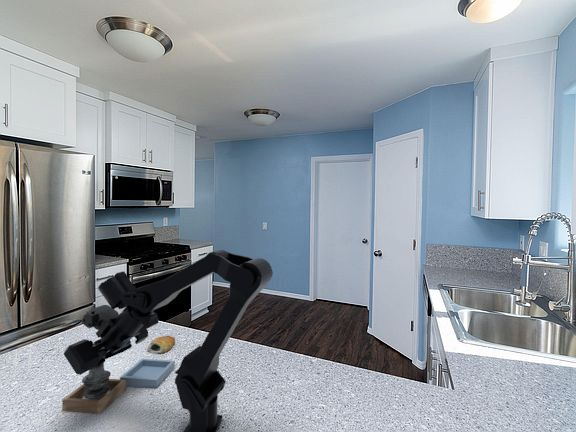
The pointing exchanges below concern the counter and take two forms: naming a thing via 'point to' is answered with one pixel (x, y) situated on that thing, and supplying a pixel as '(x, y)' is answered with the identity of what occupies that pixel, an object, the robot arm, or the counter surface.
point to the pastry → (161, 344)
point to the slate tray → (148, 373)
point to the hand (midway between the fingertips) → (92, 363)
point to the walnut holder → (93, 406)
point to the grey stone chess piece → (96, 382)
